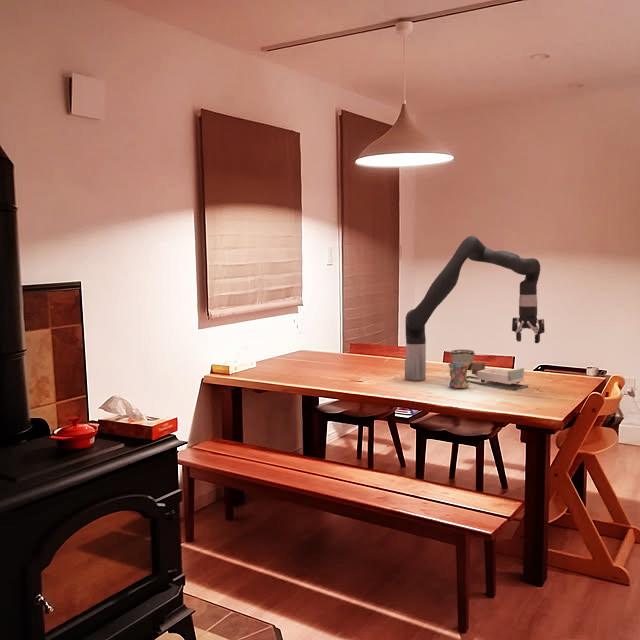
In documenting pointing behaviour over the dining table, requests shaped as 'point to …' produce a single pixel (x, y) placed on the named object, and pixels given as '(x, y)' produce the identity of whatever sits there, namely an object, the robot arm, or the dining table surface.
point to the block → (477, 367)
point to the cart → (501, 376)
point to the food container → (463, 356)
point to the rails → (497, 385)
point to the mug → (458, 374)
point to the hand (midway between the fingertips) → (527, 342)
